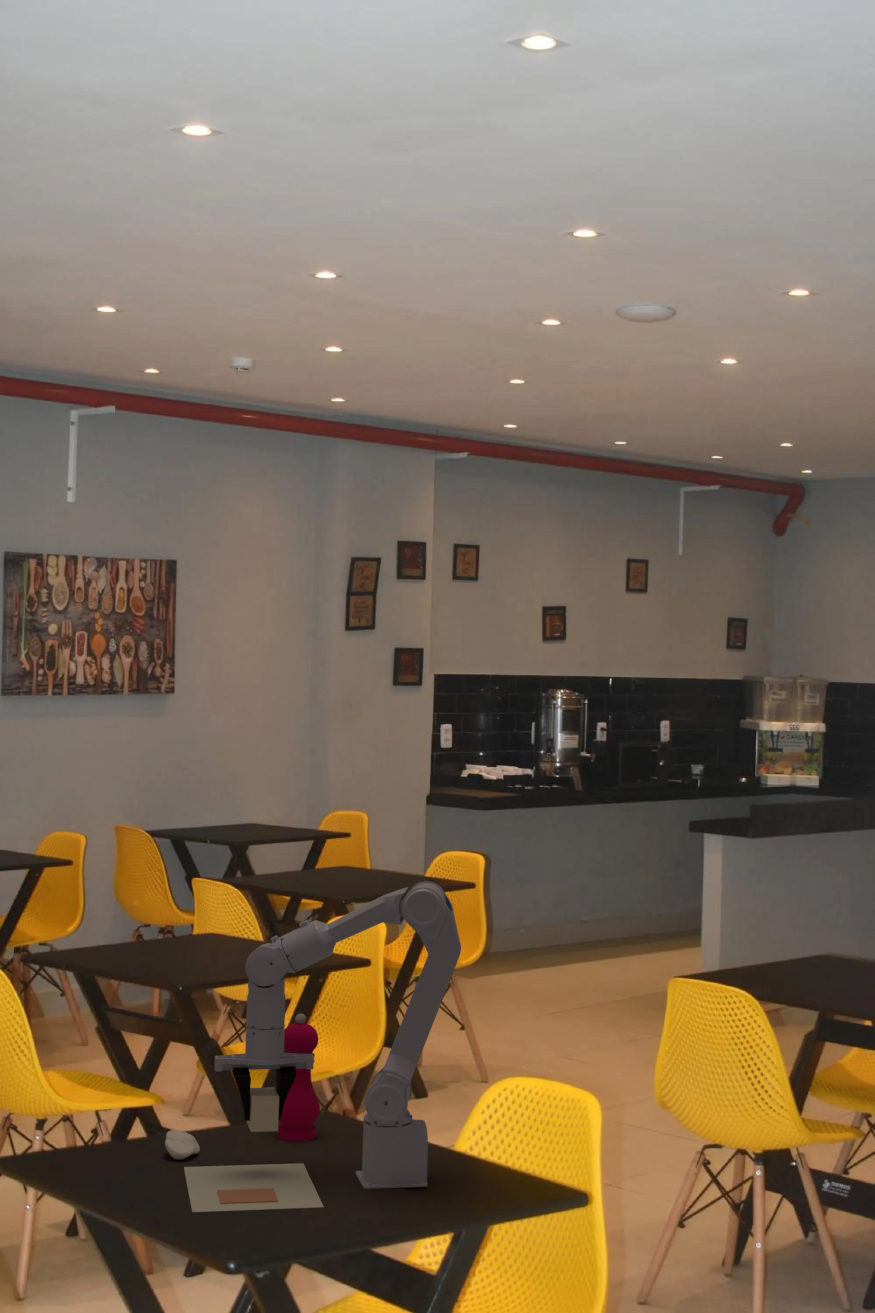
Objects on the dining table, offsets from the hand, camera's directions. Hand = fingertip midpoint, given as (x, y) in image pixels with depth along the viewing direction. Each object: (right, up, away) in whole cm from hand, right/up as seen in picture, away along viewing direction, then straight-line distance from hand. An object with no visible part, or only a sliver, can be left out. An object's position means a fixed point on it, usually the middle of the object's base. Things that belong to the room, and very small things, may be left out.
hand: (262, 1119), depth 229 cm
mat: (-1, -8, -7) cm, 10 cm away
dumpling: (-13, -9, +8) cm, 18 cm away
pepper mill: (+3, -10, +22) cm, 24 cm away
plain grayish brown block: (0, -1, 0) cm, 1 cm away
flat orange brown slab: (-1, -8, -12) cm, 14 cm away
